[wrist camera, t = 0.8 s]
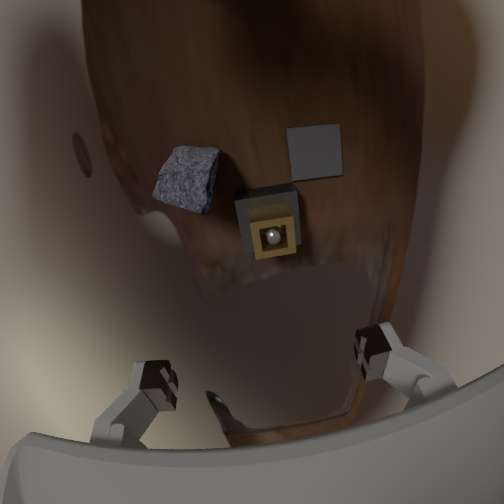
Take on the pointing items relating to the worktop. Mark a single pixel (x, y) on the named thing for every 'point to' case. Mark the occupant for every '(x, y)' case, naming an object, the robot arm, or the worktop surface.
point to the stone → (189, 178)
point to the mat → (315, 151)
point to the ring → (271, 218)
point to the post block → (261, 199)
